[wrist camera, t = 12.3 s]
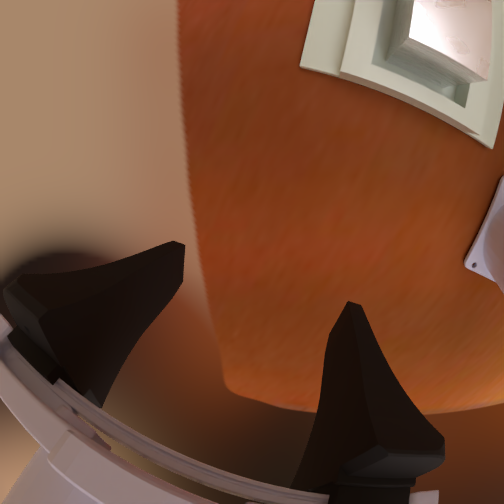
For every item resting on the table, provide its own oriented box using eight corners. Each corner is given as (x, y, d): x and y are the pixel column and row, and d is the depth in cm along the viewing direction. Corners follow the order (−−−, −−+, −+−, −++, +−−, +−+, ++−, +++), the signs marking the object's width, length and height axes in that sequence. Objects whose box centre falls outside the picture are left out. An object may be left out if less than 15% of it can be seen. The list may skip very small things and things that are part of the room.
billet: (453, 17, 8) (490, -10, 3) (442, 88, 11) (487, 80, 6) (397, -8, 8) (417, -50, 3) (385, 61, 12) (409, 37, 7)
